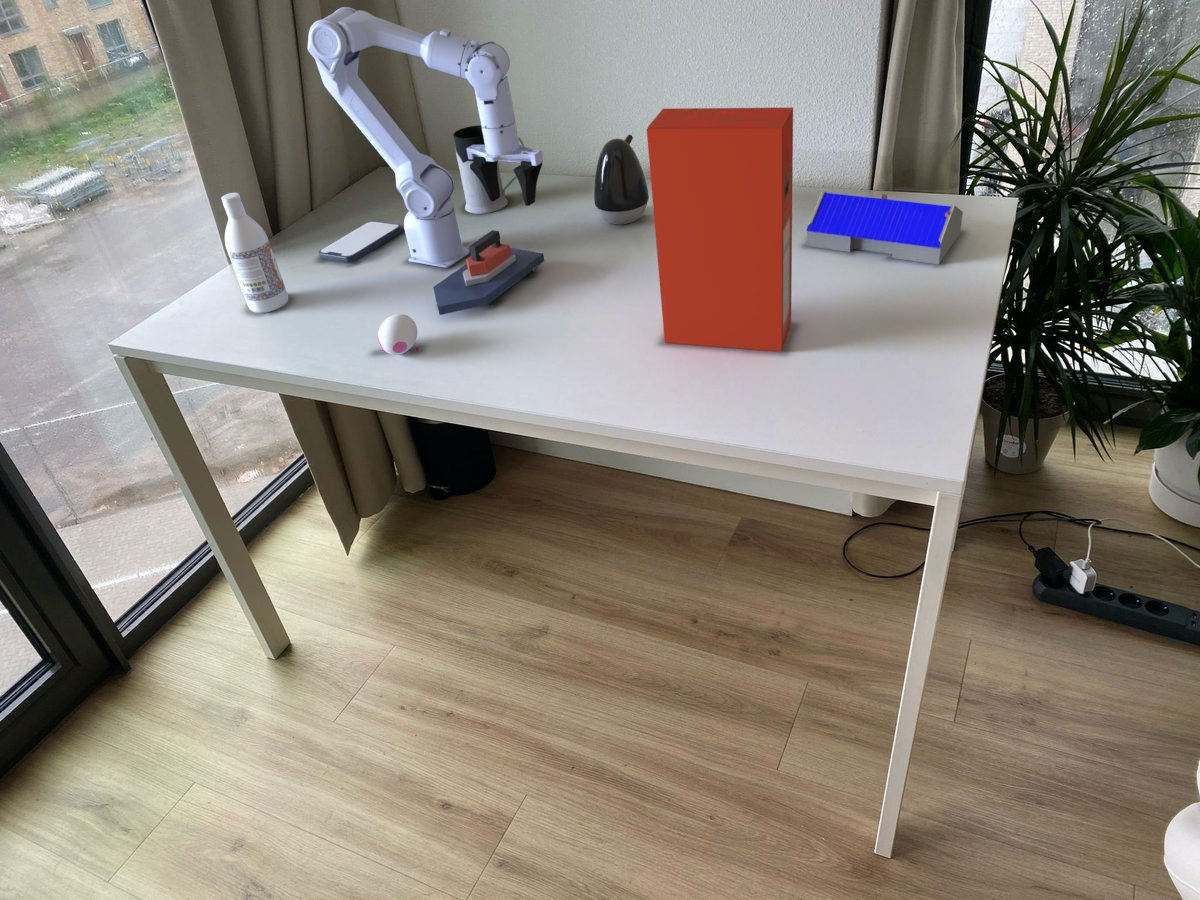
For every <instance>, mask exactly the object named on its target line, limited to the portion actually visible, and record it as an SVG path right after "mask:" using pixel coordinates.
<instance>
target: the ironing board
mask: <svg viewBox="0 0 1200 900" xmlns="http://www.w3.org/2000/svg"><path fill="white" fill-rule="evenodd" d="M510 249H511V255H515V256H516V261H515V262H513V263H512V264H511V265H509V266H508V267H507V268H505V269H504V270H502V271H501V272H500V273H498V274H497V275H496V276H494V277H493V278H492V279H490V280H489V281H487V282H483V283H479V284H474V285H469V286H466V283H465V280H464V276H463V272H464V271H465V270H467V269H468V267H467V263H465V264H464V265H462V266H460V267H459V268H458V269H457V270H455V271H454V272H452V273H451V274H449V275H448V276H447V277H445V278H444V279H442V280H441V281H439V282H438V283H437V284H435V285H434V286H433V287H432V289H433V292H434V297H435V302H436V307H437V311H438V315H439V316H443V315H446V314H447V315H448V314H451V313H457V312H460V311H465V310H466V311H467V310H470V309H475V308H479V307H484V306H488V305H489V306H494V305H495V304H496V303H497V298H499V296H501V295H502V294H503V293H504V292H506V291H507V290H508V289H510V288H511V287H512V286H514V285H516V283H518V282H519V281H520V280H521V279H523V278H524V277H528V278H529V277H532V276H533V275H534V270H535V269H536V268H537V267H539V266H540V265H542V264H543V263H544V262H545V254H544V252H538V251H533V250H527V249H522V248H521V249H520V248H514V247H510Z"/></svg>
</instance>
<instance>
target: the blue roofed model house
mask: <svg viewBox="0 0 1200 900" xmlns="http://www.w3.org/2000/svg"><path fill="white" fill-rule="evenodd" d="M963 214H964V212H963V210H962V209H960V208H959V207H958V206H957V205H955V204H951V205H942V204H935V203H934V204H933V203H923V202H917V201H916V202H914V201H905V200H895V199H888V194H885V193H881V198H878V197H868V196H859V195H849V194H842V193H832V192H827V191H825V190H822V191H821V193H820V194H819V196H818V199H817V201H816V204H815V207H814V209H813V211H812V214H811V216H810V218H809V221H808V224H807V228H806V230H805V231H806V233H807V236H806V239H807V240H806V246H807V247H810V248H818V249H825V250H832V251H838V252H839V251H840V252H846V253H850V252H851V251H852V250H859V251H866V252H873V253H880V254H881V253H882V254H888V255H891V259H896V260H904V261H911V262H918V263H926V264H933V265H940V263H941V262H942V260H943V259H944V257H945V256H946V254H948V251H949V250H950V249H951V247H952V246H953V244H954V243H955V241H956V240H957V239H958V237H959V236H960V234H961V229H962V221H963Z"/></svg>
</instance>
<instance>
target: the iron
mask: <svg viewBox="0 0 1200 900" xmlns="http://www.w3.org/2000/svg"><path fill="white" fill-rule="evenodd" d="M467 247H468V249H469V254H468V255H470V256H469V257H467V258H466V259H465V262H466V264H467V267H468V269H467V270H465V271H464V272H463V276H464V280H465V283H466V286H469V285H474V284H479V283H483V282H487V281H489V280H490V279H492V278H493V277H494V276H496V275H497V274H498V273H500V272H501V271H502V270H504V269H505V268H507V267H508V266H509V265H511V264H512V263H513V262H515V261H516V256H515V255H511V249H510V248H511V245H510V244H507V243H501V233H500V231H499V230H494V229H493V230H492V229H491V230H490V231H488V232H487V233H486V234H484V235H482V237H480V238H478V239H477V240H475V241H474V242H472V243H471V244H469V245H468V246H467Z"/></svg>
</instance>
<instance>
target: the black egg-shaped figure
mask: <svg viewBox="0 0 1200 900" xmlns="http://www.w3.org/2000/svg"><path fill="white" fill-rule="evenodd" d="M633 139H634V136H633V135H632V134H627V136H626V137H625V138H624V139H622V138H612V139H610V140H608V141H607V142H606V143H605V144H604V145H603V147H602V149H601V151H600V153H599V156H598V160H597V164H596V170H595V177H594V187H593V191H594V192H593V201H594V205H595V207H596V209H597V210H598V213H599V214H600V216H601V217H602V219H604V220H605V221H606V222H608V223H610V224H614V225H627V224H631V223H633V222H636V221H637V220H639V219H640V218H641V217H642V216H643V214H644V213H645V212H646V210H647V206H648V201H649V200H650V195H649V189H648V183H647V181H646V176H645V172H644V170H643V167H642V165H641V162H640V160H639V157H638V156H637V154H636V152H635V150H634V149H633V147H632V146H631V143H632V142H633Z"/></svg>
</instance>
